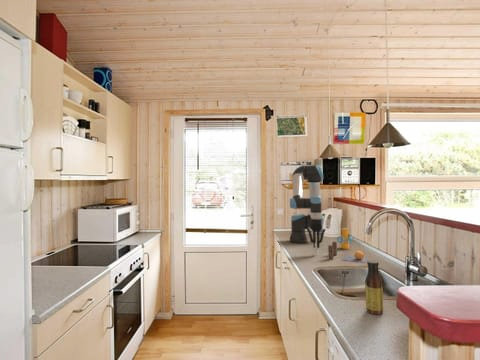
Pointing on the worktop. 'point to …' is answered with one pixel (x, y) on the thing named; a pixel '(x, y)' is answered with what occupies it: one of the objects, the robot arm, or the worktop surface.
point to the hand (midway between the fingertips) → (316, 252)
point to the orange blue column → (345, 239)
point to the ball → (358, 255)
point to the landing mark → (354, 259)
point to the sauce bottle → (373, 289)
